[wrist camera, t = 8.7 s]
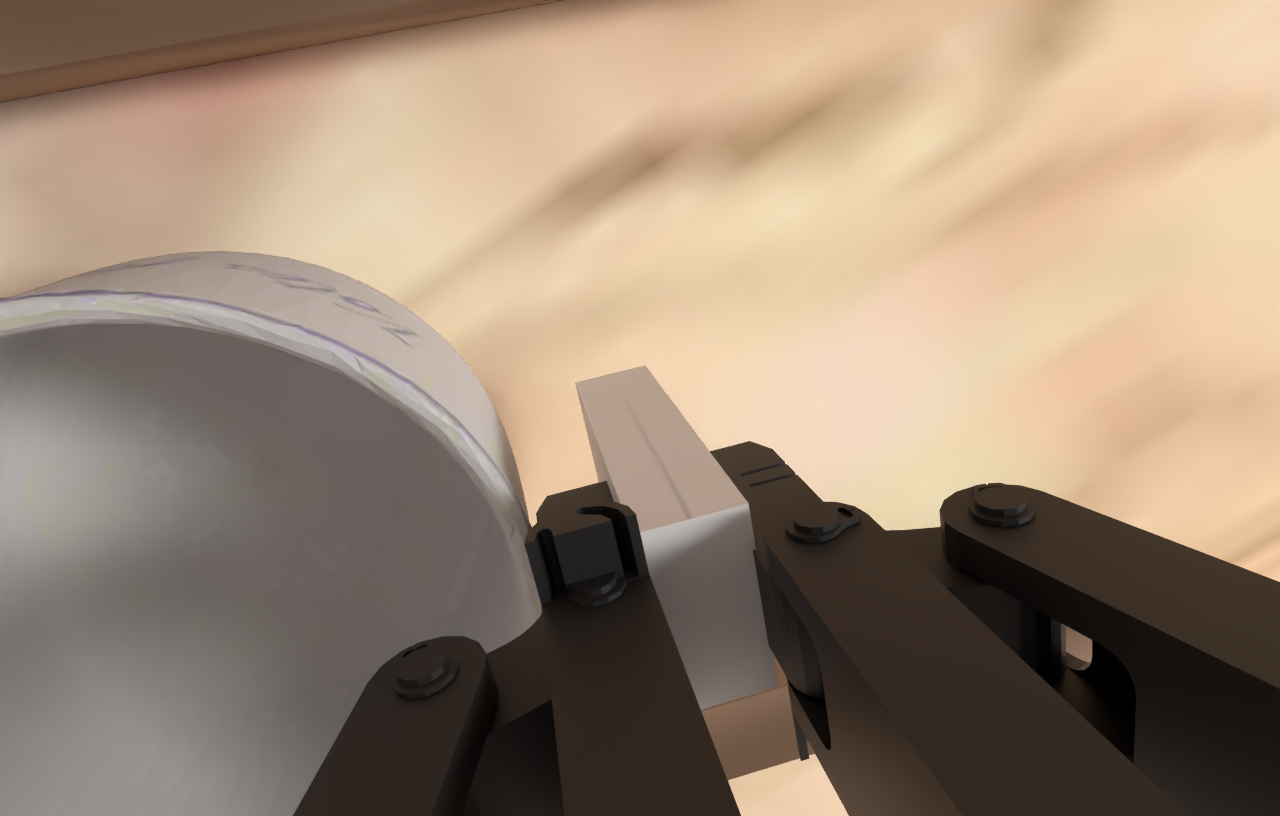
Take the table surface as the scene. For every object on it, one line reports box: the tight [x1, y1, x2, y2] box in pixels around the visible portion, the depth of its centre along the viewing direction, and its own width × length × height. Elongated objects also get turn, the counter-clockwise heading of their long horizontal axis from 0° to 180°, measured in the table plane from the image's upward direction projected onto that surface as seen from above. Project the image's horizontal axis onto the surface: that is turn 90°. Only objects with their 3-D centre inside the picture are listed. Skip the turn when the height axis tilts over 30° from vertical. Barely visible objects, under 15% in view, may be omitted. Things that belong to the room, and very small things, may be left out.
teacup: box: [0, 251, 542, 816], centre depth 14 cm, size 14×11×8 cm
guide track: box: [0, 0, 1092, 780], centre depth 16 cm, size 22×32×5 cm
